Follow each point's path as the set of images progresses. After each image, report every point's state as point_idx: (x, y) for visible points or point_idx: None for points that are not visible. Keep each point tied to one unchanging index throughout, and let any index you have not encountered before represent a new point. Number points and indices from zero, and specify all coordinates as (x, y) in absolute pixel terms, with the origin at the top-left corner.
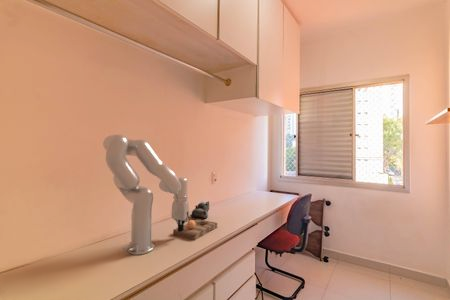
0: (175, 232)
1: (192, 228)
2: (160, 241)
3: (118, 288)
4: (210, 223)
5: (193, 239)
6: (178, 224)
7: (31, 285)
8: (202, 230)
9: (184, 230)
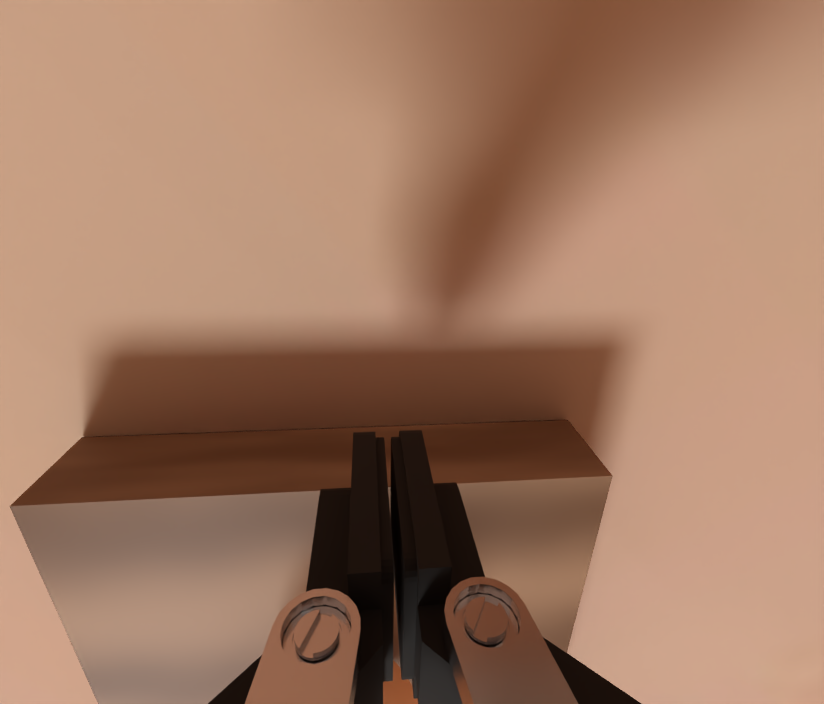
0: (537, 449)
1: None
2: (608, 47)
3: None
4: None
5: (106, 440)
6: (430, 580)
7: None
8: (100, 692)
9: None
